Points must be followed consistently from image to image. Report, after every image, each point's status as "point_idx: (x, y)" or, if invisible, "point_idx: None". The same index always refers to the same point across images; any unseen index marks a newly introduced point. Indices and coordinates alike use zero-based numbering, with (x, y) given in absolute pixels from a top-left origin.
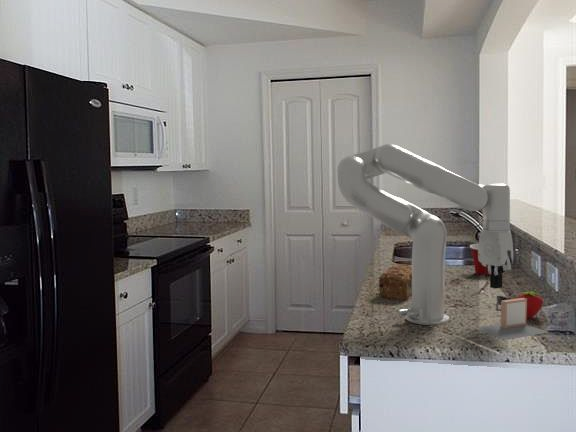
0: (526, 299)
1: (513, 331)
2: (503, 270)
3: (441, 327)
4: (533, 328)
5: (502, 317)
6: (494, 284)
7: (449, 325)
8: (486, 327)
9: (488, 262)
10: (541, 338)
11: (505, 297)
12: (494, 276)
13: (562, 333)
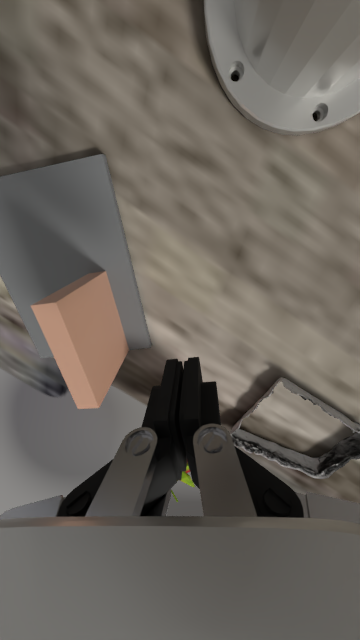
0: (78, 406)
1: (50, 276)
2: (59, 497)
3: (173, 8)
4: None
5: (83, 280)
6: (165, 376)
7: (193, 83)
8: (103, 216)
9: (147, 551)
10: (10, 317)
11: (357, 457)
12: (157, 418)
13: (52, 384)
